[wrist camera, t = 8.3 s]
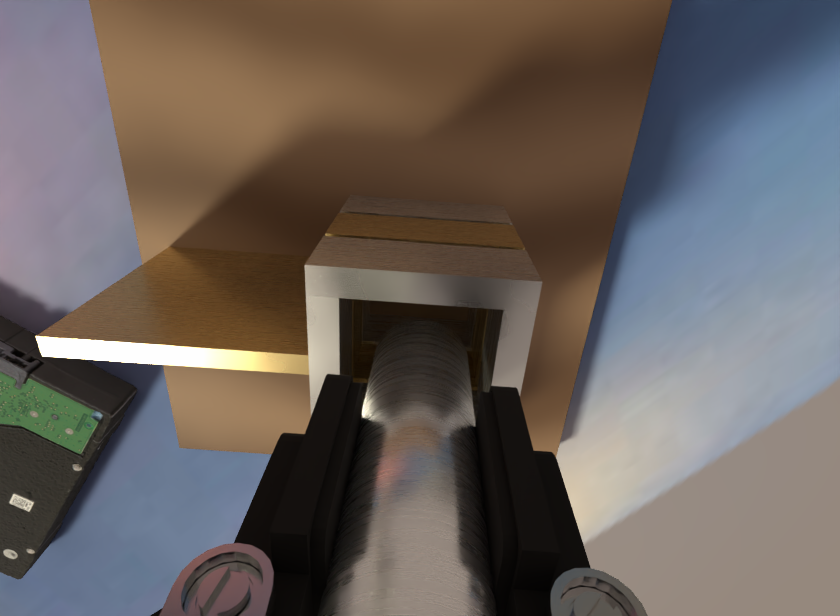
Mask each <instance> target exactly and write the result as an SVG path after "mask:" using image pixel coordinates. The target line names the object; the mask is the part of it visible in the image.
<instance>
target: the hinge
mask: <svg viewBox="0 0 840 616" xmlns="http://www.w3.org/2000/svg"><path fill="white" fill-rule="evenodd" d="M541 287H542V280H541V278H540V276H539V274H538V272H537V270H536V268H535V266H534V264H533V263H532V261H531V259H530V257H529V255H528V253H527V251H526V250H525V247H524V245H523V243H522V241H521V239H520V237H519V235H518V233H517V231H516V230H515V228H514V226H513V225H512V222H511V220H510V218H509V216H508V214H507V212H506V210H505V208H504V206H494V205H481V204H467V203H453V202H439V201H426V200H412V199H398V198H384V197H371V196H357V195H350V197H349V198H348V200H347V201H346V203H345V204H344V206H343V207H342V209H341V210H340V213H338V215H337V216H336V218H335V219H334V221H333V222H332V224H331V225H330V227H329V228H328V230H327V231H326V233H325V236H323V238H322V239H321V241H320V242H319V244H318V245H317V247H316V248H315V250H314V251H313V253H312V254H311V256H296V255H283V254H269V253H255V252H241V251H227V250H213V249H199V248H185V247H171V246H169V247H168V248H166V249H165V250H163V251H162V252H160V253H159V254H157V255H156V256H154V257H153V258H151V259H150V260H148V261H147V262H146V263H144V264H143V265H141V266H140V267H138V268H137V269H135V270H134V271H132V272H131V273H129V274H128V275H126V276H125V277H123V278H122V279H120V280H119V281H117V282H116V283H114V284H113V285H111V286H110V287H108V288H107V289H105V290H104V291H102V292H101V293H99V294H98V295H96V296H95V297H93V298H92V299H90V300H89V301H87V302H86V303H84V304H83V305H81V306H80V307H78V308H77V309H75V310H74V311H72V312H71V313H69V314H68V315H67V316H65V317H64V318H62V319H61V320H59V321H58V322H56V323H55V324H53V325H52V326H50V327H49V328H47V329H46V330H44V331H43V332H41V333H40V334H38V335H37V336H36V339H37V342H38V345H39V348H40V351H41V354H42V356H47V357H61V358H76V359H90V360H104V361H119V362H133V363H147V364H162V365H176V366H190V367H205V368H219V369H233V370H248V371H262V372H276V373H291V374H305V375H309V381H310V404H311V415H312V413H313V410H314V407H315V404H316V402H317V399H318V396H319V393H320V391H321V388H322V385H323V382H324V379H325V377H326V375H327V374H336V375H350V376H353V382H354V383H362V409H363V404H364V400H365V395H366V391H367V386H368V381H369V377H370V372H371V368H372V363H373V358H374V354H375V350H376V347H377V345H378V342H379V341H380V339H381V338H382V337H383V336H384V334H385V333H386V332H388V331H389V330H390V329H392V328H393V327H395V326H397V325H399V324H401V323H404V322H408V321H413V320H427V321H433V322H437V323H439V324H442V325H444V326H446V327H448V328H449V329H451V330H452V331H453V332H454V333H456V334H457V335H458V337H459V338H460V339H461V340H462V342H463V344H464V346H465V348H466V351H467V355H468V364H469V373H470V382H471V391H472V399H473V408H474V417H475V425H476V418H477V411H478V405H479V398H480V393H481V392H489V390H490V387H491V386H502V387H516V388H517V389H518V392H519V396H520V394H521V389H522V383H523V378H524V373H525V368H526V363H527V358H528V353H529V348H530V343H531V338H532V332H533V327H534V322H535V317H536V312H537V307H538V302H539V297H540V292H541ZM370 300H374V301H388V302H402V303H416V304H430V305H444V306H458V307H469V310H468V318H467V320H454V319H440V318H426V317H412V316H398V315H384V314H370Z"/></svg>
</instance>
